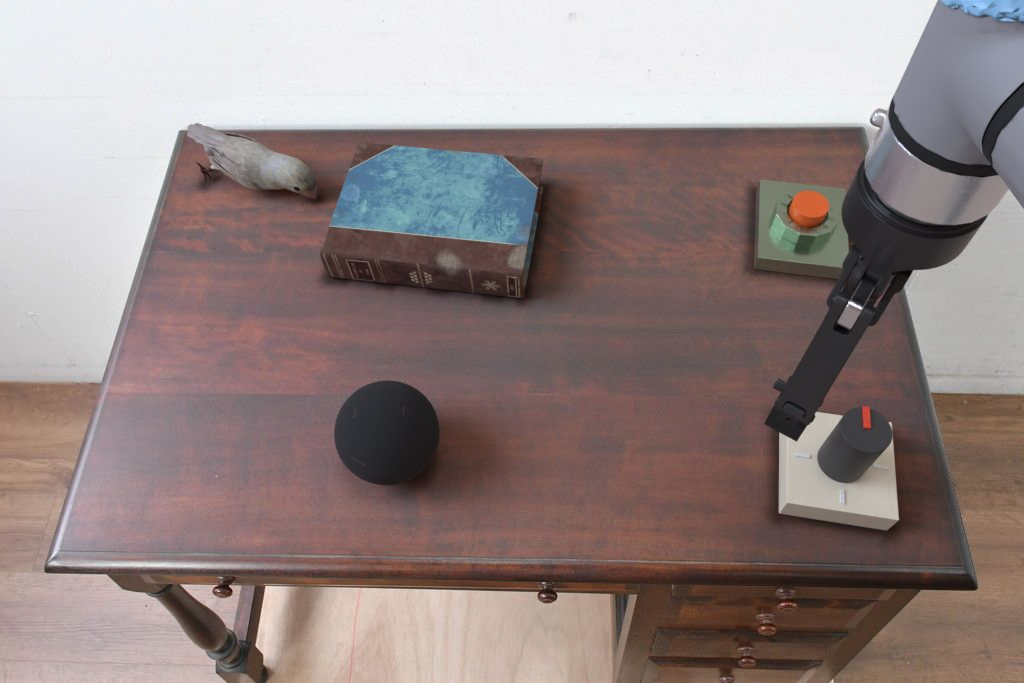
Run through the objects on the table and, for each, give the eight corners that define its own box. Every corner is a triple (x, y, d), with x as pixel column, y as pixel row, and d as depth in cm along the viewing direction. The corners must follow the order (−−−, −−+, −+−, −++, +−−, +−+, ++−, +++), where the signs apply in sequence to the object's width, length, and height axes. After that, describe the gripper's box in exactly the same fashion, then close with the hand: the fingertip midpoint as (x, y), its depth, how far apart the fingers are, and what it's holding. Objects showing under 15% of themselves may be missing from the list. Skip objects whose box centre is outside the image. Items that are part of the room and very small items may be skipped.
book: (329, 280, 93) (318, 253, 88) (366, 169, 102) (358, 140, 97) (523, 301, 90) (522, 275, 86) (543, 186, 99) (543, 157, 95)
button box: (843, 280, 90) (855, 258, 87) (753, 269, 91) (761, 247, 88) (840, 200, 96) (850, 177, 93) (755, 191, 97) (763, 168, 94)
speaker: (438, 402, 84) (427, 354, 75) (450, 491, 78) (438, 450, 70) (344, 417, 83) (321, 370, 75) (348, 508, 78) (325, 468, 69)
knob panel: (887, 530, 75) (900, 519, 72) (778, 513, 76) (787, 502, 73) (880, 435, 80) (892, 421, 77) (779, 420, 81) (787, 406, 79)
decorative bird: (309, 215, 98) (292, 172, 91) (197, 184, 101) (174, 140, 95) (329, 184, 100) (314, 140, 94) (219, 155, 104) (198, 110, 97)
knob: (866, 486, 74) (895, 455, 68) (817, 479, 75) (842, 447, 68) (863, 443, 76) (892, 409, 70) (816, 436, 77) (840, 402, 71)
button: (825, 229, 89) (829, 219, 88) (788, 225, 90) (792, 215, 88) (824, 202, 92) (828, 192, 90) (788, 198, 92) (792, 188, 91)
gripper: (938, 40, 52) (836, 243, 70) (772, 299, 42) (703, 460, 60) (1056, 82, 50) (920, 281, 68) (912, 368, 40) (796, 514, 58)
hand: (818, 365), depth 64 cm, fingers open, 13 cm apart
